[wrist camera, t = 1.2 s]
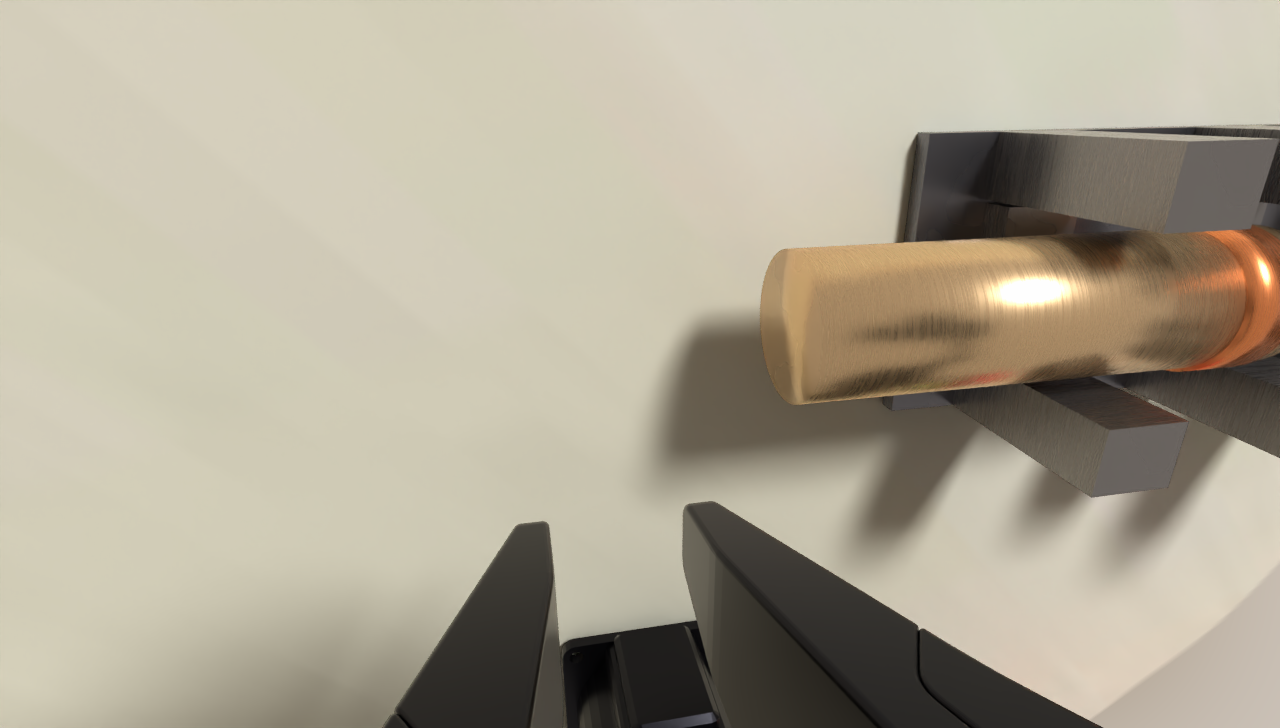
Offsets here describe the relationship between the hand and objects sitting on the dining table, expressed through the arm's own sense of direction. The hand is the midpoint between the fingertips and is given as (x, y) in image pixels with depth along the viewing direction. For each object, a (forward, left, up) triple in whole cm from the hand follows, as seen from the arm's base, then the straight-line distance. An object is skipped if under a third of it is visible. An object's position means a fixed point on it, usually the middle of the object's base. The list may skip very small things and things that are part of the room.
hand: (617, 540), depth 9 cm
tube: (0, -13, -10) cm, 16 cm away
